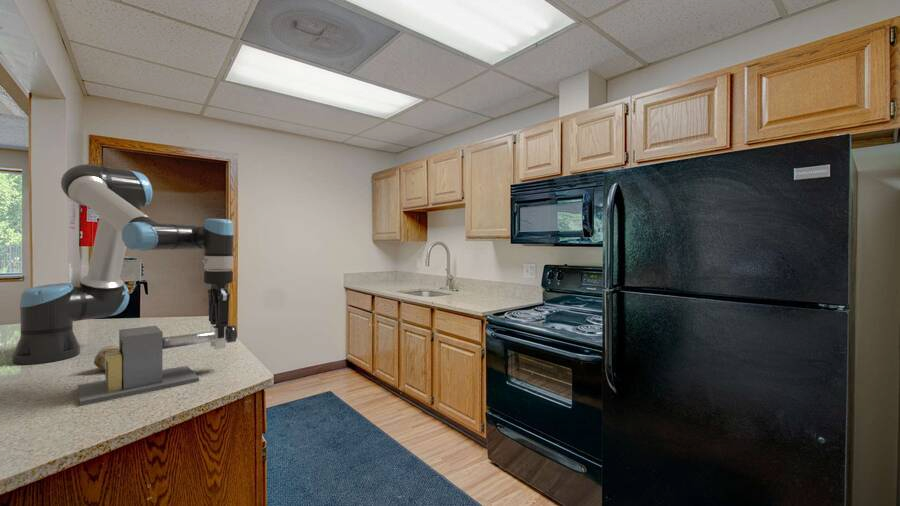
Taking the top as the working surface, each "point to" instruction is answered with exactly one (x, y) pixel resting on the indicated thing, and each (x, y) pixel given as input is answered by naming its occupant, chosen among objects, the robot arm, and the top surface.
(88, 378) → the top surface
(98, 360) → the mug
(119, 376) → the block
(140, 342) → the bearing block
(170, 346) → the shaft
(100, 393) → the mat
